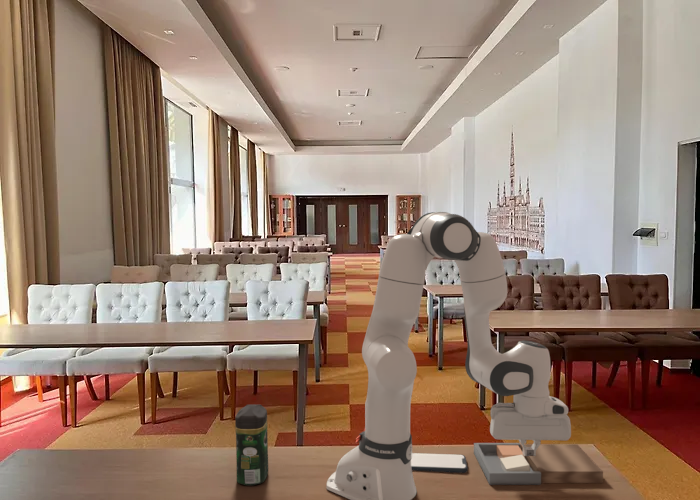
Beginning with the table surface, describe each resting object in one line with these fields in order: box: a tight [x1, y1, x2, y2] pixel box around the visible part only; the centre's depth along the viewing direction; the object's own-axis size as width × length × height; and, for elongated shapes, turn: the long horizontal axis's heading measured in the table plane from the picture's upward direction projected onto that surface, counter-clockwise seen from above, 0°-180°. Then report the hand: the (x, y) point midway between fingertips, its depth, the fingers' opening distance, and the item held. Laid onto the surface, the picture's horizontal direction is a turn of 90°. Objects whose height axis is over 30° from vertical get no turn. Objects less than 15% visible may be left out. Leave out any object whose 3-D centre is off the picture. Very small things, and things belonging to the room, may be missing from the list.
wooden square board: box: [521, 443, 604, 484], centre depth 146 cm, size 16×16×3 cm
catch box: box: [473, 442, 542, 486], centre depth 146 cm, size 13×18×3 cm
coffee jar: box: [234, 404, 269, 487], centre depth 141 cm, size 10×8×19 cm
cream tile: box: [500, 455, 530, 471], centre depth 143 cm, size 6×6×2 cm
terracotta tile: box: [497, 445, 525, 459], centre depth 151 cm, size 6×6×2 cm
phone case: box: [411, 452, 469, 474], centre depth 149 cm, size 9×2×16 cm
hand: (528, 455), depth 142 cm, fingers closed
